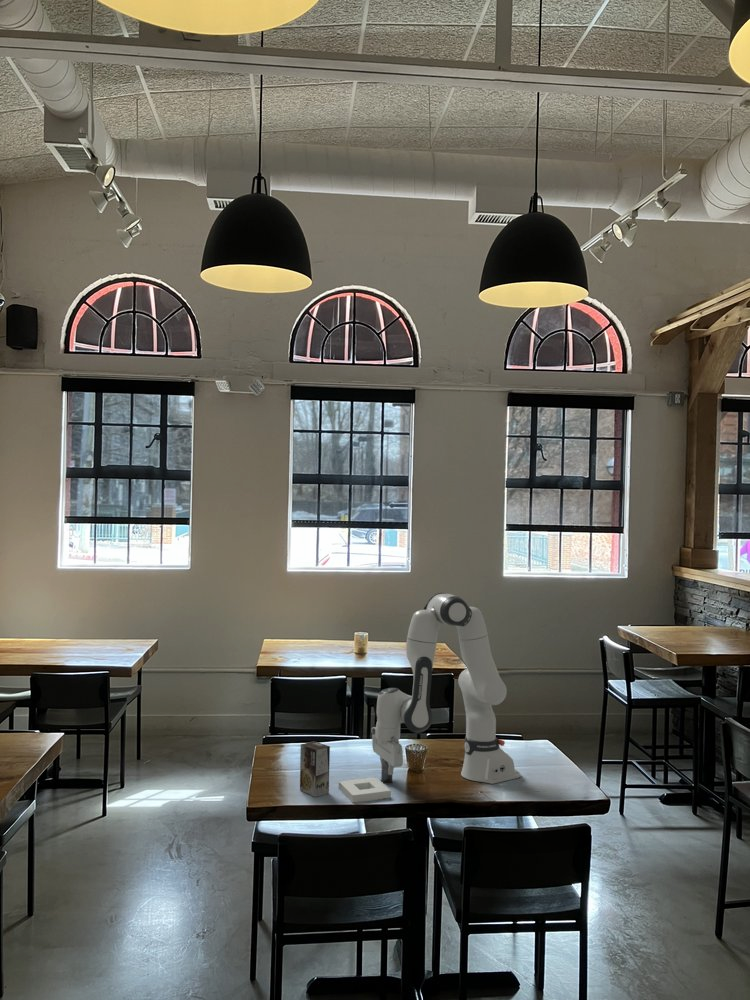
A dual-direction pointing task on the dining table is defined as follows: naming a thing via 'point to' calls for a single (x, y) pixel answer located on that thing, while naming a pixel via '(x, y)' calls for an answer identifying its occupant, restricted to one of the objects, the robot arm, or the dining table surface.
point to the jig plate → (364, 789)
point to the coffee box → (314, 768)
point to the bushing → (385, 773)
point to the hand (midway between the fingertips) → (387, 771)
